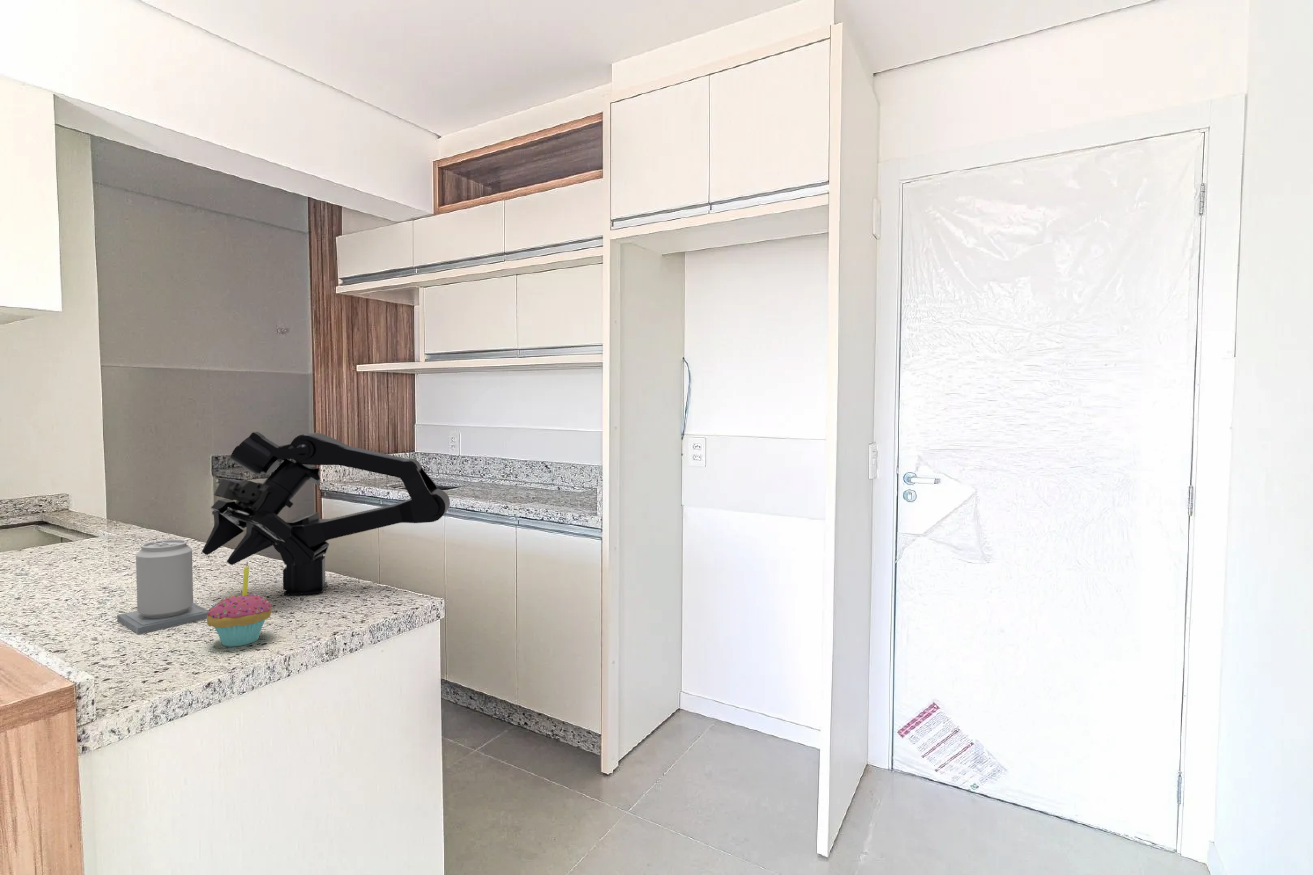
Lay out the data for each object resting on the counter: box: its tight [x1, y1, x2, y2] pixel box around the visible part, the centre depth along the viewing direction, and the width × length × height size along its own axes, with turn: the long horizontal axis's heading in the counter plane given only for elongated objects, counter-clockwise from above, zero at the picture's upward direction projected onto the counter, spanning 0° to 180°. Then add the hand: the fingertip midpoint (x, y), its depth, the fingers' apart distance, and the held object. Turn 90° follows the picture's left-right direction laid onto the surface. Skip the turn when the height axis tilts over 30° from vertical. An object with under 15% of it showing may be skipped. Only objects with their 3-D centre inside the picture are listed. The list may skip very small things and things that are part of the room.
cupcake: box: [206, 560, 273, 648], centre depth 98 cm, size 9×8×12 cm
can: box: [135, 538, 194, 618], centre depth 107 cm, size 8×8×12 cm
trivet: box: [116, 602, 210, 635], centre depth 107 cm, size 10×10×1 cm
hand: (216, 558), depth 113 cm, fingers open, 9 cm apart
